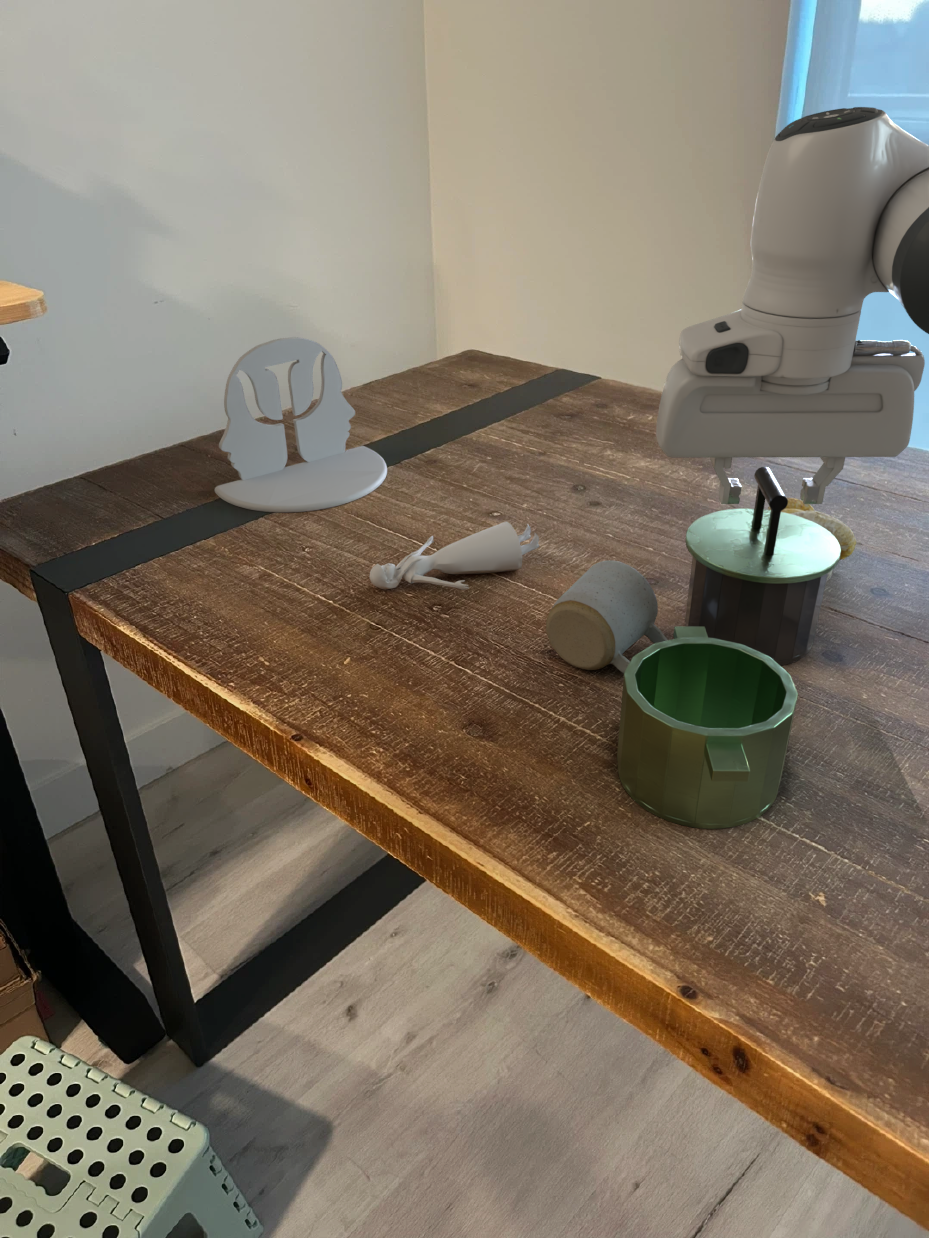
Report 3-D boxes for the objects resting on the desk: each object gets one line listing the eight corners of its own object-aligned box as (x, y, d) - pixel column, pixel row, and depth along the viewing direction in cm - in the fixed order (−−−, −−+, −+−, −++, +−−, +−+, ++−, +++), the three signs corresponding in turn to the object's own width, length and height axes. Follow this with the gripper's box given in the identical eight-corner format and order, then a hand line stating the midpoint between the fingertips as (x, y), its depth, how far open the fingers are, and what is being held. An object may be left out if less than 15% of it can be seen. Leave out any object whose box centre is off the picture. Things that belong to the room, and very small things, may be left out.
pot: (752, 705, 82) (766, 619, 77) (805, 858, 67) (827, 763, 63) (607, 703, 82) (614, 618, 78) (629, 855, 68) (639, 761, 63)
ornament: (365, 448, 131) (355, 323, 122) (420, 480, 122) (414, 346, 113) (212, 491, 120) (189, 356, 111) (260, 529, 111) (239, 386, 102)
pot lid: (815, 519, 92) (829, 450, 88) (858, 590, 81) (875, 514, 77) (674, 519, 93) (682, 450, 89) (697, 589, 82) (707, 514, 78)
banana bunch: (760, 534, 95) (771, 467, 107) (742, 584, 99) (755, 514, 110) (864, 561, 93) (864, 490, 105) (842, 611, 97) (845, 537, 108)
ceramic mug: (538, 660, 88) (541, 586, 84) (582, 619, 93) (587, 548, 89) (645, 700, 83) (654, 624, 79) (685, 655, 88) (696, 582, 84)
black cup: (795, 600, 96) (811, 517, 91) (828, 668, 86) (847, 579, 81) (676, 600, 96) (685, 517, 92) (695, 667, 87) (707, 579, 82)
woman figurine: (556, 544, 97) (382, 587, 93) (557, 582, 99) (388, 626, 95) (512, 497, 106) (352, 535, 102) (514, 533, 109) (358, 571, 105)
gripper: (915, 329, 79) (880, 486, 86) (661, 331, 80) (647, 486, 87) (945, 352, 74) (904, 517, 81) (672, 354, 75) (656, 517, 82)
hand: (769, 501), depth 84 cm, fingers open, 6 cm apart
